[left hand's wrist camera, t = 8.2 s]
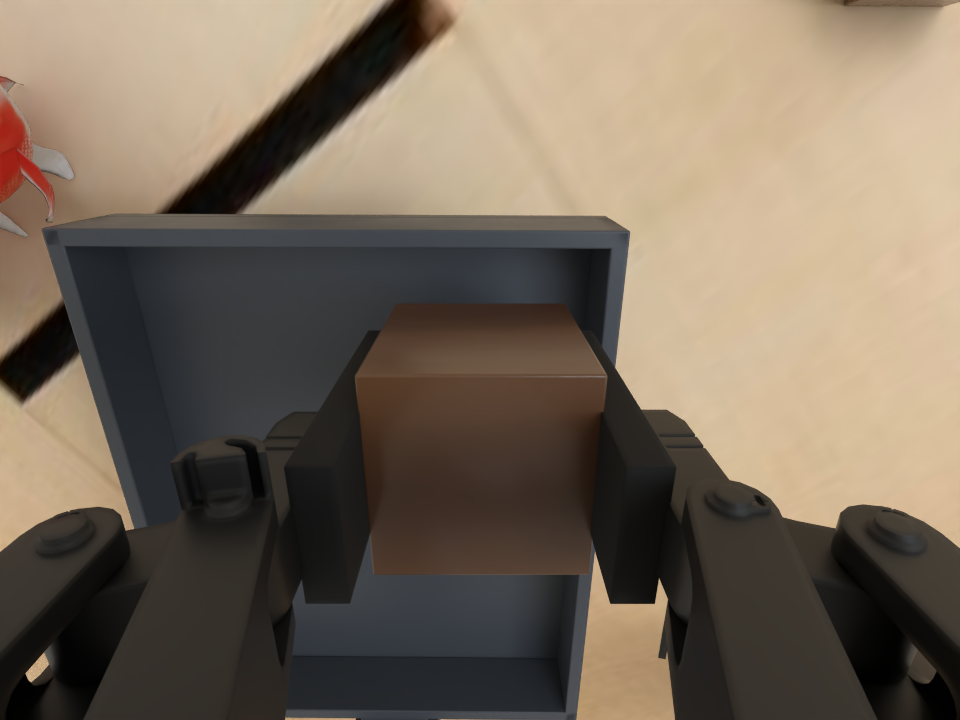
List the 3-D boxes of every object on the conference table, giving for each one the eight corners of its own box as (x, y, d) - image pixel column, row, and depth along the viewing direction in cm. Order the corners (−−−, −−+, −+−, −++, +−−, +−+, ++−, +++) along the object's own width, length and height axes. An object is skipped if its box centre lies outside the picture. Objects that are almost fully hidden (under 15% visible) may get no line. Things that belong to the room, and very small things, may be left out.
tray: (113, 213, 17) (-316, 298, 8) (606, 215, 17) (749, 304, 8) (244, 722, 27) (118, 1027, 18) (559, 725, 27) (598, 1033, 18)
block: (395, 303, 14) (354, 375, 9) (565, 302, 14) (608, 375, 9) (404, 451, 16) (372, 575, 11) (556, 451, 16) (589, 575, 11)
